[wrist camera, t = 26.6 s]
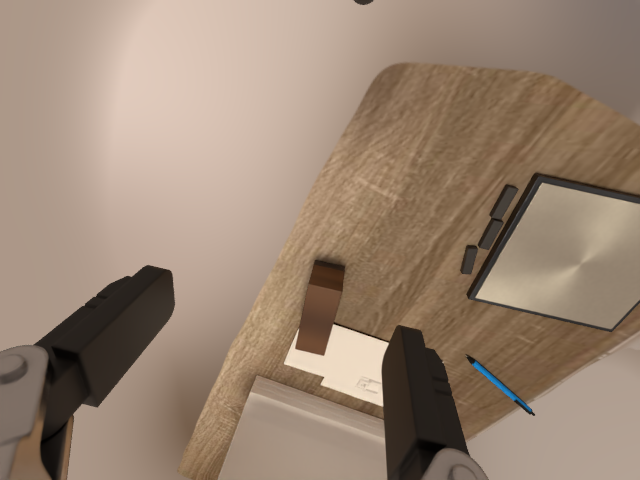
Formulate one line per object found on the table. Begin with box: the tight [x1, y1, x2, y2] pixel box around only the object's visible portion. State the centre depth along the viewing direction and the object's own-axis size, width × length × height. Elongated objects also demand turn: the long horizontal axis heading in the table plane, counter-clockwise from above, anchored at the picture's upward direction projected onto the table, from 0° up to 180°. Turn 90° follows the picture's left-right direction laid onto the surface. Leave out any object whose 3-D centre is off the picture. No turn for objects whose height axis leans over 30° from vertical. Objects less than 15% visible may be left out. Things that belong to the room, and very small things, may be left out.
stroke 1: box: [460, 246, 478, 274], centre depth 39 cm, size 4×1×1 cm, turn 1°
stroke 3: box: [490, 185, 518, 220], centre depth 35 cm, size 4×1×1 cm, turn 168°
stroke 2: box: [478, 218, 503, 250], centre depth 37 cm, size 4×1×1 cm, turn 169°
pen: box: [466, 356, 535, 416], centre depth 49 cm, size 1×19×1 cm, turn 48°
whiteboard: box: [467, 174, 640, 332], centre depth 37 cm, size 18×20×1 cm
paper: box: [284, 324, 444, 407], centre depth 52 cm, size 25×17×1 cm
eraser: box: [295, 260, 345, 356], centre depth 43 cm, size 12×4×6 cm, turn 169°
